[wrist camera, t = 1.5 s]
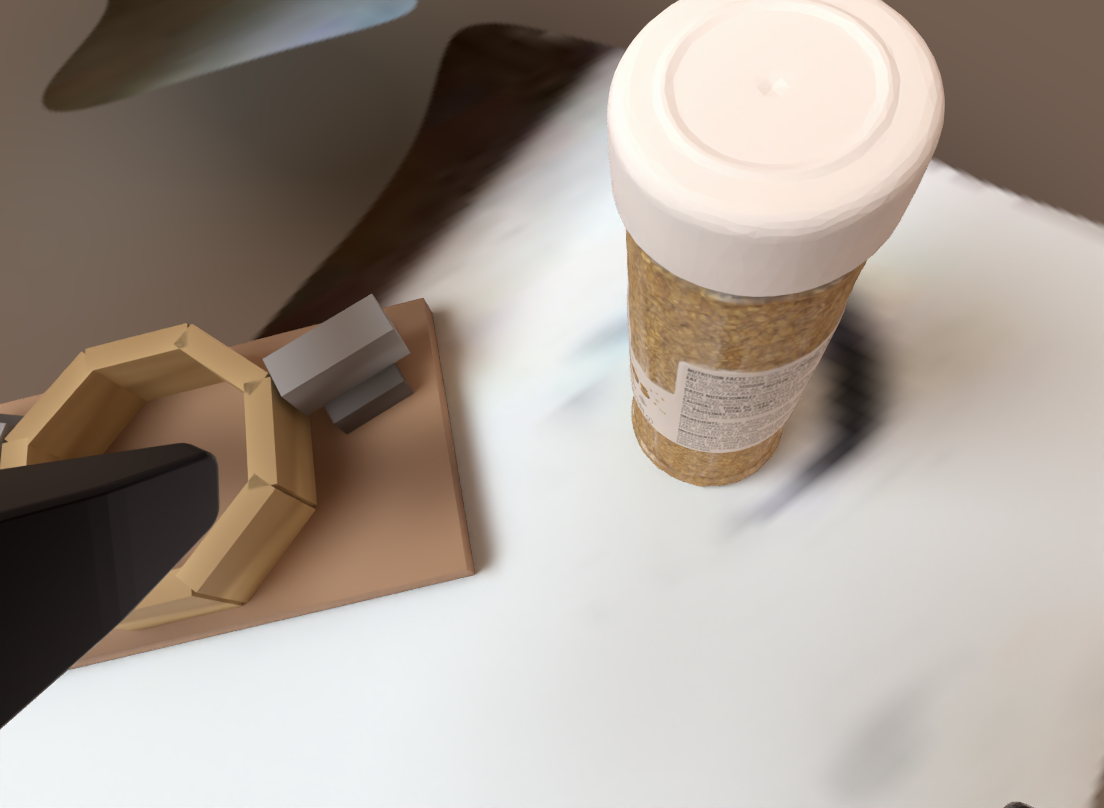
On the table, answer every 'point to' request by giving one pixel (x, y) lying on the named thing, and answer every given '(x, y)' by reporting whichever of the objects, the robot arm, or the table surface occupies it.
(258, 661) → the table surface
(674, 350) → the sprinkles bottle
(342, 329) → the stand
